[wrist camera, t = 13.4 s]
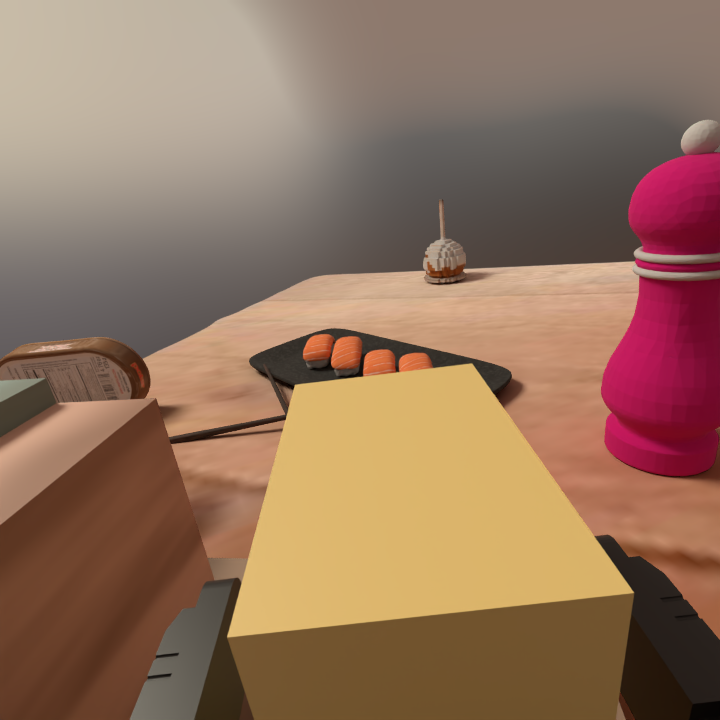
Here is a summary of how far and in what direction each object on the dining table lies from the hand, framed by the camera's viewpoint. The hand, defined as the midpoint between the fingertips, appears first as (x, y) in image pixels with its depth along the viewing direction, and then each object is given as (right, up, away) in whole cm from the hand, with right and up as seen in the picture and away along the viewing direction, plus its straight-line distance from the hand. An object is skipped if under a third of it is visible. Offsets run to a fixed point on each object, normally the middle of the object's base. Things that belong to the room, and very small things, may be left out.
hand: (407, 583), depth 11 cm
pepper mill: (+19, -1, +20) cm, 27 cm away
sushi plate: (-6, 0, +33) cm, 33 cm away
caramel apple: (+16, +21, +76) cm, 80 cm away
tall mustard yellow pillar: (+1, -8, +1) cm, 8 cm away
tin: (-30, -1, +36) cm, 47 cm away
